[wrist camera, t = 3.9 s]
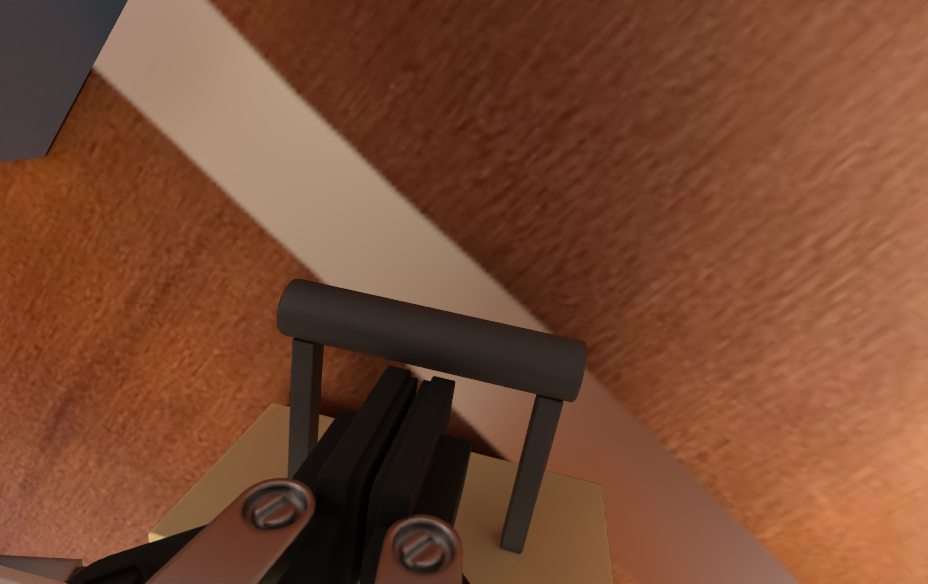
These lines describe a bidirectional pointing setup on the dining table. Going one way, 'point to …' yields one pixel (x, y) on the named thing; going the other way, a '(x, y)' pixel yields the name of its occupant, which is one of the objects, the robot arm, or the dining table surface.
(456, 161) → the dining table surface
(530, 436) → the drawer
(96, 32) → the block
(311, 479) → the robot arm
